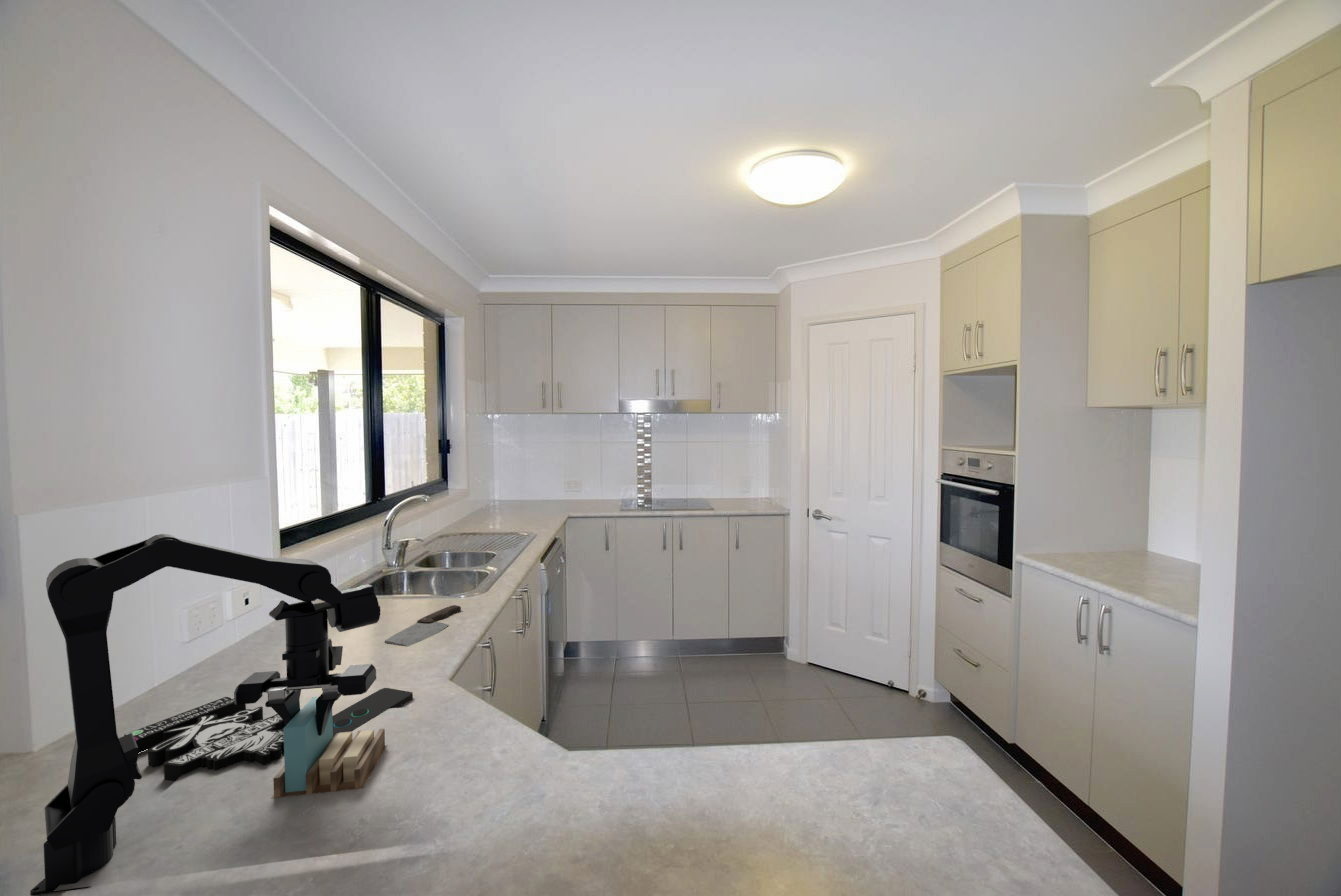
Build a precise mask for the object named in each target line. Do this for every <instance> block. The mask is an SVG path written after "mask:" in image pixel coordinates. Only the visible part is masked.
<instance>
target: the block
mask: <svg viewBox="0 0 1341 896" xmlns="http://www.w3.org/2000/svg"><path fill="white" fill-rule="evenodd" d="M318 697H319V696H315V697H312V698H311V699H309V701H308V702H307V703H305V705H304V706H303V707H302V708H300V711H299V712H298V713H297V714H296V715H295V717H294V718H293V719H292V720H291V721H290V722H289V723H288V724H287V725H286V726H285V727H284V729H283V730H284V752H283V755H284V756H283V759H284V761H283V762H284V765H285V793H286V792H295V791H304V790H306V774H307V772H308V771H309V770H310V768H311V767H312V766H313V764H314V763H315V762H316V760H317V759H318V758H319V756H320V755H321V754H322V753H323V751H324V750H325V749H326V747H327V746H328V745H329V743H330V742H331V741H332V739H333V720H332V716H333V708H332V709H331V712H330V715H329V718H328V721H327V724H326V727H325V730H324V732H323V734H322V735H321V736H319V735H318V731H317V719H316V700H317V699H318Z"/></svg>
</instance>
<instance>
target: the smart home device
mask: <svg viewBox="0 0 1341 896" xmlns="http://www.w3.org/2000/svg"><path fill="white" fill-rule="evenodd" d="M413 697H414V695H413V692H412V691H407V690H401V689H395V688H389V687H382V688H380V689H378V690H377V691H374V692H373V693H371V694H369V695H367V696H366V697H364V698H362V699H360V700H358V701H357V702H355V703H353V704H352V705H350V706H348V707H346V708H344V709H343V710H341V711H339V712H337V713H335V714H334V715H333V714H332V720H333V738H334V737H335V735H336V734H337V733H342V732H353V731H354V730H356V729H357V728H360V727H361V726H364V724H366V723H367V722H369V721H371V720H373V719H374V718H375V717H378V716H379V715H381V714H383V713H384V712H386V711H388V710H389V709H399V708H401V707H403V706H404V705H405V704H407V703H409V702H410V701H411V700H413Z"/></svg>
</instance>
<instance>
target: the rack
mask: <svg viewBox="0 0 1341 896" xmlns="http://www.w3.org/2000/svg"><path fill="white" fill-rule="evenodd" d="M361 731H362V730H358V731H357V733H356V734H355V736H354V737H352V741H351V743H350V744H349V746H348V747H347V749H346V750H345V751H344V753H343V754H342V756H341V757H340V759H339V760H338V762H337V763H336V765H335V766H334V767H333V769H332V770H331V772H330V783H331V784H326V785H320V773H319V759H320V758H321V757H322V755H323V754H324V753H325V751H326V750H327V749H328V747H329V746H330V745H331V743H332V742H333V741H334V739H335V738H336V737H337V735H338V734H339V733H337V734H336V735H335V737H334V738H333V739H332V741H331V742H330V743H329V745H328V746H327V747H326V749H325V750H324V751H323V753H322V754H321V755H320V756H319V758H318V759H317V760H316V762H315V763H314V764H313V766H312V767H311V768H310V770H309V771H308V772H307V774H306V790H304V791H295V792H286V793H285V764H284V765H283V766H282V768H281V769H279V771H278V772H277V773H276V774H275V775H274V777H273V779H272V780H273V795H272V796H271V799H277V798H278V799H279V798H289V797H296V796H305V795H314V794H315V795H316V794H323V793H324V794H325V793H331V792H332V793H333V792H341V791H342V792H343V791H348V790H349V791H351V790H359V789H364V787H366V784H367V782H368V780H369V779H370V777H371V776H372V774H373V771H374V770H375V768H376V766H377V765H378V762H380V759H381V757H382V756H383V754H384V753H385V750H386V748H387V746H388V745H387V744H386V739H385V738H386V736H385V734H386V733H385V728H379V729H378V731H377V733H376V734H375V735H374V739H373V740H372V742H371V744H370V745H369V747H368V749H367V750H366V752H365V753H364V755H363V757H362V758H361V760H360V761H359V763H358V765H357V766H356V768H355V769H354V774H355V781H353V782H344V779H343V757H344V755H345V754H346V752H347V751H348V749H349V748H350V746H351V745H352V744H353V742H354V741H355V739H356V738H357V736H358V735H359V733H360V732H361Z"/></svg>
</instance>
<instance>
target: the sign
mask: <svg viewBox="0 0 1341 896" xmlns="http://www.w3.org/2000/svg"><path fill="white" fill-rule="evenodd" d="M285 726H286V723H285V722H284V721H283V719H282V718H281V717H280V716H279V715H278V714H277V713H276V714H274V715H272V716H269V717H266V718H265V719H264V707H263V706H259V707H255V708H253V709H251V708H247V704H239V705H236V704H235V703H234V697H233V698H231V697H228V696H224V697H221V698H218V699H216V700H213V701H211V702H209V703H205V704H203V705H201V706H197V707H195V708H192V709H190V710H187V711H184V712H182V713H178V714H176V715H173V716H171V717H170V716H169V717H168V718H164V719H163V720H160V721H157V722H155V723H152V724H149V725H145V726H143V727H141V728H139V729H135V730H132V731H129V732H128V733H125V734H124V735H123V736H125V735H127V734H130V733H132V734H133V736H134V739H135V741H136V744H137V747H138V753H139V752H141V751H144V750H146V749H148V751H147V764H148V765H149V766H148V767H150V766H152V767H151V768H158V767H160V766H162V765H163V779H164V781H171V782H176V781H178V780H179V779H180V778H182V776H185V775H186V774H189V773H191V772H193V771H195V770H198V769H200V768H202V769H204V768H207V770H209V771H211V770H214V771H219V770H222V769H225V768H228V767H231V766H233V765H236V764H239V763H242V762H246V763H250V764H251V763H256V764H258V765H261V766H268V765H269V764H270V763H271V761H278V760H280V759H281V758H282V754H283V753H284V727H285Z"/></svg>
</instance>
